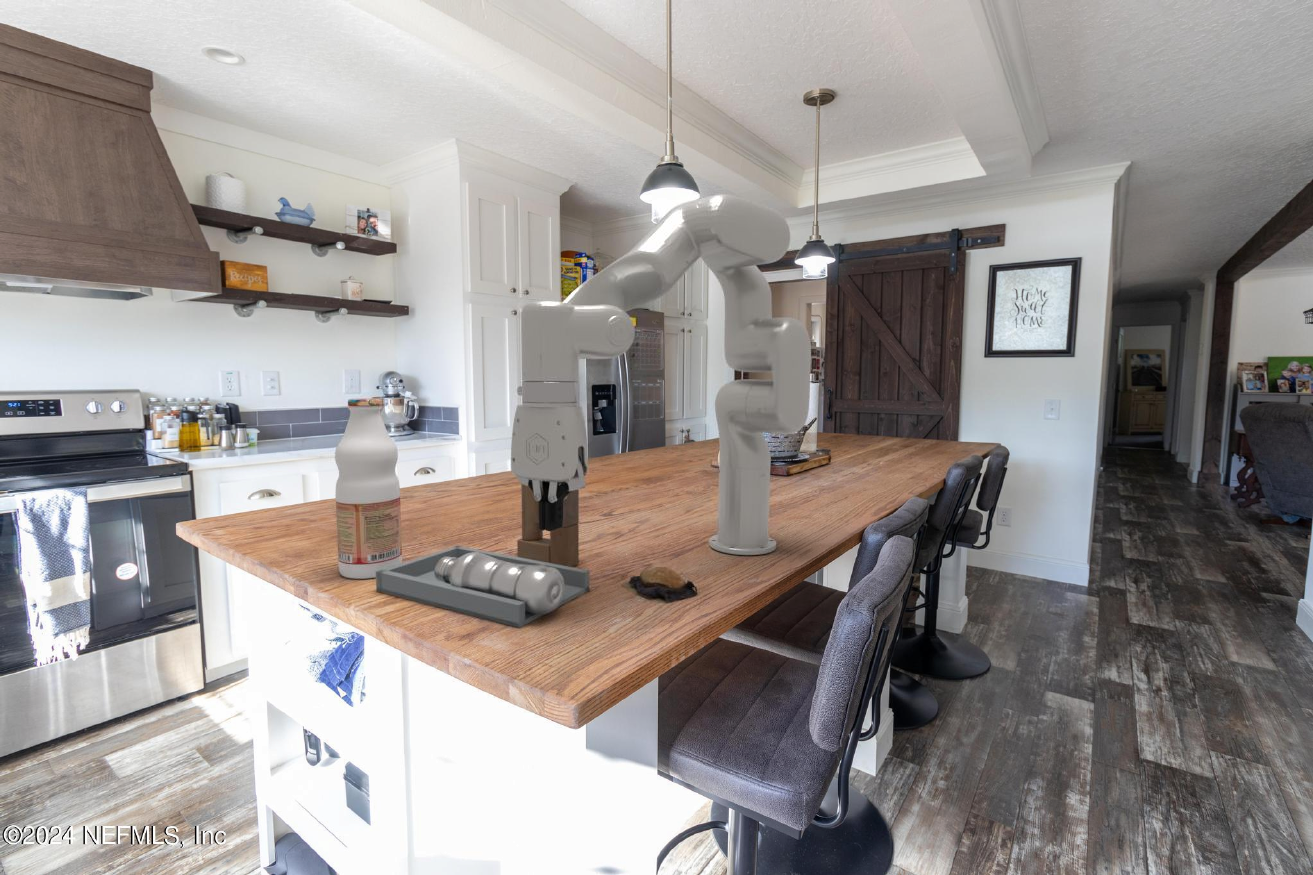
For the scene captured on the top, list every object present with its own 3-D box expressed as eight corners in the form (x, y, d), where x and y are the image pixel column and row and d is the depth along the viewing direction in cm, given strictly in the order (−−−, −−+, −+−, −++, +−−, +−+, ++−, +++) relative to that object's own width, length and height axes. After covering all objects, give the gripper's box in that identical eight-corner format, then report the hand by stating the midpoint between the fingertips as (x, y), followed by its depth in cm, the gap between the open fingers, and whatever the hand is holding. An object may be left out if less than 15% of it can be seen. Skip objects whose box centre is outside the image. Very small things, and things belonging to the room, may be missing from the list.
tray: (457, 562, 105) (457, 545, 104) (589, 589, 92) (589, 570, 92) (376, 591, 91) (375, 571, 90) (519, 628, 78) (518, 605, 78)
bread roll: (617, 589, 94) (617, 566, 94) (659, 578, 100) (660, 556, 99) (661, 610, 86) (661, 584, 86) (705, 596, 91) (705, 572, 91)
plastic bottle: (542, 626, 78) (427, 598, 87) (572, 605, 84) (461, 581, 93) (539, 578, 77) (423, 555, 86) (570, 560, 83) (459, 540, 92)
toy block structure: (566, 570, 102) (566, 462, 100) (516, 560, 107) (515, 457, 105) (579, 564, 105) (579, 459, 103) (530, 554, 110) (529, 455, 108)
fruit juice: (326, 579, 95) (318, 399, 93) (356, 561, 105) (350, 397, 102) (386, 580, 95) (380, 400, 92) (411, 562, 105) (406, 398, 102)
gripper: (488, 394, 83) (490, 527, 85) (580, 397, 76) (580, 542, 78) (524, 393, 89) (526, 516, 91) (612, 396, 82) (611, 529, 84)
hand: (551, 528), depth 84 cm, fingers closed
